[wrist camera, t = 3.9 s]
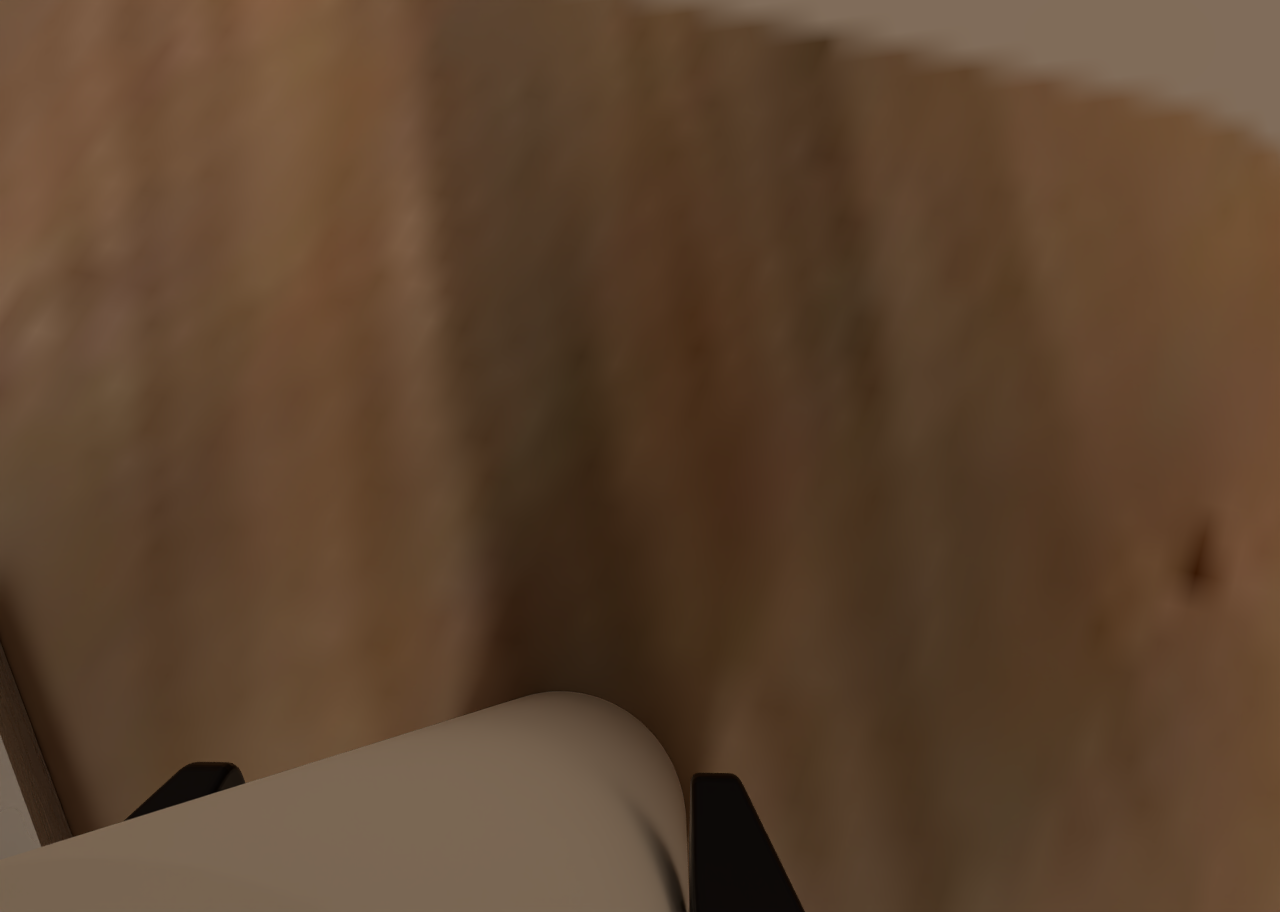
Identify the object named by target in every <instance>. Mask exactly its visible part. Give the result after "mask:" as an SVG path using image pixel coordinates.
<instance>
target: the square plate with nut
mask: <svg viewBox="0 0 1280 912" xmlns="http://www.w3.org/2000/svg"><path fill="white" fill-rule="evenodd" d="M72 837H73V836H72V833H71V831H70V828H69V825H68V823H67V820H66V817H65V815H64V812H63V809H62V807H61V804H60V801H59V799H58V796H57V793H56V791H55V788H54V785H53V782H52V780H51V777H50V774H49V772H48V769H47V766H46V764H45V761H44V758H43V756H42V753H41V750H40V748H39V745H38V742H37V740H36V737H35V734H34V731H33V729H32V726H31V723H30V721H29V718H28V715H27V713H26V710H25V707H24V705H23V702H22V699H21V697H20V694H19V691H18V689H17V686H16V683H15V681H14V678H13V675H12V672H11V670H10V667H9V664H8V662H7V659H6V656H5V654H4V651H3V648H2V646H1V643H0V860H1V859H5V858H8V857H11V856H14V855H17V854H21V853H24V852H27V851H30V850H34V849H37V848H40V847H43V846H46V845H50V844H53V843H56V842H59V841H62V840H66V839H69V838H72Z"/></svg>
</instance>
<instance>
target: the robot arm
mask: <svg viewBox="0 0 1280 912" xmlns="http://www.w3.org/2000/svg"><path fill="white" fill-rule="evenodd" d="M242 784H245V781H244V778H243V776H242V773H241V771H240V769H239V768H238V767H237V766H236V765H234V764H233V763H229V762H194V763H191V764H188V765H186V766H185V767H183V768H182V769H180V770H179V771H178V772H177V773H176V774H175V775H174V776H172V777H171V778H170V779H169V780H168V781H167V782H166V783H165V784H164V785H163V786H162V787H160V788H159V789H158V790H157V791H156V792H155V793H154V794H153V795H152V796H151V797H150V798H148V799H147V800H146V801H145V802H144V803H143V804H142V805H141V806H140V807H139V808H137V809H136V810H135V811H134V812H133V813H132V814H131V815H130V816H129V817H128V818H127V819H125V820H124V821H126V820H130V819H133V818H136V817H139V816H143V815H146V814H149V813H152V812H155V811H159V810H162V809H165V808H168V807H171V806H175V805H178V804H181V803H184V802H187V801H191V800H194V799H197V798H200V797H203V796H207V795H210V794H213V793H216V792H219V791H223V790H226V789H229V788H232V787H236V786H239V785H242ZM689 912H805V911H804V909H803V907H802V905H801V903H800V901H799V899H798V897H797V895H796V893H795V890H794V888H793V886H792V884H791V882H790V880H789V878H788V876H787V874H786V872H785V870H784V868H783V866H782V864H781V862H780V860H779V858H778V856H777V853H776V851H775V849H774V847H773V845H772V843H771V841H770V839H769V837H768V835H767V833H766V831H765V829H764V827H763V825H762V823H761V821H760V819H759V817H758V814H757V812H756V810H755V808H754V806H753V804H752V802H751V800H750V798H749V796H748V794H747V792H746V790H745V788H744V786H743V784H742V782H741V781H740V779H739V778H738V777H737V776H736V775H734V774H731V773H696V774H695V775H693V776H692V778H691V784H690V837H689Z"/></svg>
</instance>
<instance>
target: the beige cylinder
mask: <svg viewBox="0 0 1280 912" xmlns="http://www.w3.org/2000/svg"><path fill="white" fill-rule="evenodd" d="M0 912H689V884H688V857H687V829H686V810H685V803H684V796H683V792H682V788H681V785H680V781H679V778H678V776H677V773H676V771H675V768H674V766H673V764H672V762H671V760H670V758H669V756H668V755H667V753H666V751H665V749H664V748H663V746H662V745H661V744H660V742H659V741H658V740H657V738H656V737H655V736H654V734H653V733H652V732H651V731H650V730H649V729H648V728H647V727H646V726H645V725H644V724H643V723H642V722H641V721H639V720H638V719H637V718H635V717H634V716H633V715H631V714H630V713H629V712H627V711H626V710H624V709H622V708H621V707H619V706H617V705H615V704H614V703H611V702H609V701H606V700H604V699H602V698H599V697H596V696H592V695H588V694H584V693H578V692H570V691H549V692H543V693H536V694H532V695H528V696H525V697H521V698H518V699H514V700H511V701H508V702H505V703H502V704H498V705H495V706H492V707H489V708H486V709H482V710H479V711H476V712H473V713H470V714H466V715H463V716H460V717H457V718H454V719H450V720H447V721H444V722H441V723H438V724H434V725H431V726H428V727H425V728H422V729H418V730H415V731H412V732H409V733H405V734H402V735H399V736H396V737H393V738H389V739H386V740H383V741H380V742H377V743H373V744H370V745H367V746H364V747H361V748H357V749H354V750H351V751H348V752H345V753H341V754H338V755H335V756H332V757H329V758H325V759H322V760H319V761H316V762H312V763H309V764H306V765H303V766H300V767H296V768H293V769H290V770H287V771H284V772H280V773H277V774H274V775H271V776H268V777H264V778H261V779H258V780H255V781H252V782H248V783H245V784H242V785H239V786H236V787H232V788H229V789H226V790H223V791H219V792H216V793H213V794H210V795H207V796H203V797H200V798H197V799H194V800H191V801H187V802H184V803H181V804H178V805H175V806H171V807H168V808H165V809H162V810H159V811H155V812H152V813H149V814H146V815H143V816H139V817H136V818H133V819H130V820H126V821H123V822H120V823H117V824H114V825H110V826H107V827H104V828H101V829H98V830H94V831H91V832H88V833H85V834H82V835H78V836H75V837H72V838H69V839H66V840H62V841H59V842H56V843H53V844H50V845H46V846H43V847H40V848H37V849H34V850H30V851H27V852H24V853H21V854H17V855H14V856H11V857H8V858H5V859H1V860H0Z"/></svg>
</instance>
